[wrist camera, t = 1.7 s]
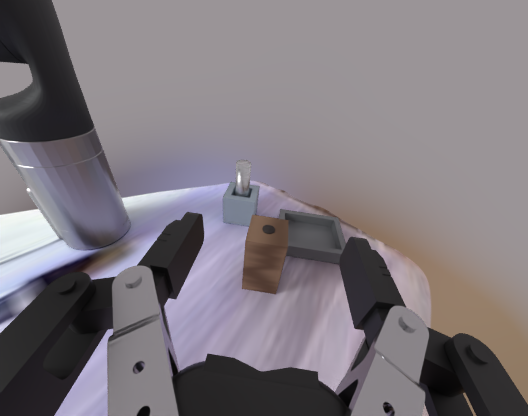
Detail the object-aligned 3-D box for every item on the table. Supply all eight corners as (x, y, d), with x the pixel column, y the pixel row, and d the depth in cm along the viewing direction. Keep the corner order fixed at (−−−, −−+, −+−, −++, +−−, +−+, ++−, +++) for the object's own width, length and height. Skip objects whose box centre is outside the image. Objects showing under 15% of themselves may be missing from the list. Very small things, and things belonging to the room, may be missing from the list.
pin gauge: (233, 218, 42) (234, 164, 35) (236, 210, 44) (238, 159, 37) (245, 220, 42) (249, 167, 35) (248, 212, 44) (252, 161, 37)
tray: (275, 253, 36) (277, 244, 34) (278, 218, 44) (280, 209, 42) (344, 264, 35) (349, 255, 34) (334, 226, 43) (338, 217, 42)
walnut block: (241, 288, 30) (245, 240, 24) (247, 261, 34) (252, 214, 28) (275, 294, 30) (288, 246, 24) (277, 266, 34) (288, 219, 28)
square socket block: (223, 222, 41) (222, 197, 37) (230, 205, 46) (230, 181, 42) (252, 227, 41) (255, 202, 37) (256, 209, 45) (259, 186, 42)
